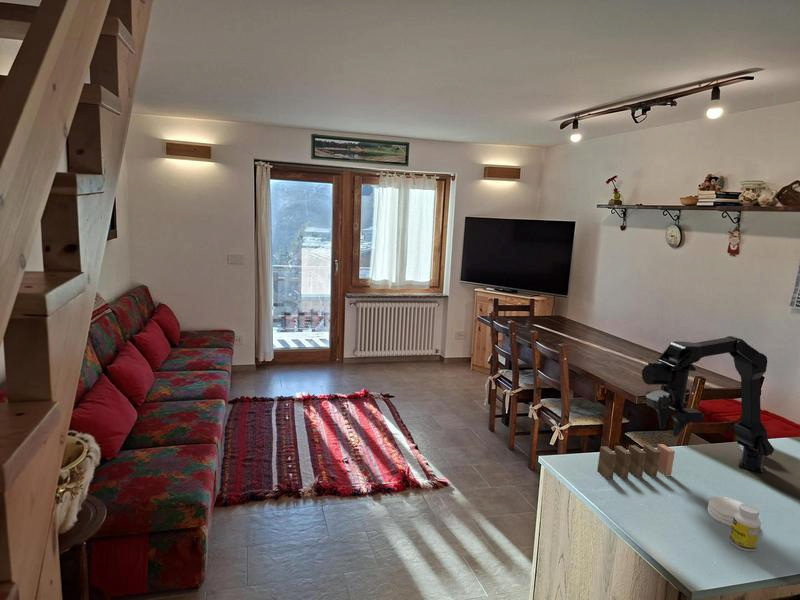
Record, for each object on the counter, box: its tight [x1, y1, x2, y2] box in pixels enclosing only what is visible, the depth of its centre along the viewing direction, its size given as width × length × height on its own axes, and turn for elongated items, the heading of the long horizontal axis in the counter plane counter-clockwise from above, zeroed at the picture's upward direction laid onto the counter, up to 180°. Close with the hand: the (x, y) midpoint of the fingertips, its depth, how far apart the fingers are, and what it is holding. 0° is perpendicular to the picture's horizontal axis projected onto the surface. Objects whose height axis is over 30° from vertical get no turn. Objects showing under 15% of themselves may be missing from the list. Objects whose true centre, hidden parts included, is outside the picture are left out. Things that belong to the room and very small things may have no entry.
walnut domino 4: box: [642, 444, 660, 478], centre depth 157 cm, size 2×5×8 cm, turn 12°
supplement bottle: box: [729, 503, 761, 552], centre depth 123 cm, size 5×5×10 cm
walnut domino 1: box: [596, 445, 616, 480], centre depth 154 cm, size 2×5×8 cm, turn 12°
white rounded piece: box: [706, 495, 744, 528], centre depth 135 cm, size 10×10×4 cm
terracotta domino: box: [656, 443, 676, 477], centre depth 158 cm, size 2×5×8 cm, turn 13°
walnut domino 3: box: [628, 444, 646, 478], centre depth 156 cm, size 2×5×8 cm, turn 12°
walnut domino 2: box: [613, 445, 631, 479], centre depth 155 cm, size 2×5×8 cm, turn 12°
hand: (668, 432), depth 157 cm, fingers open, 5 cm apart
